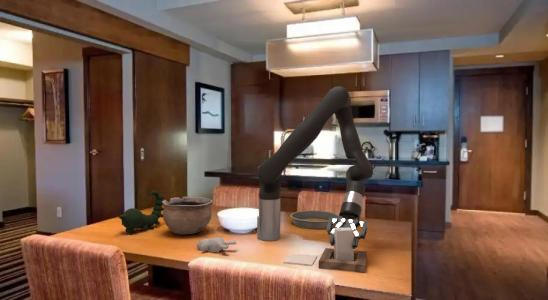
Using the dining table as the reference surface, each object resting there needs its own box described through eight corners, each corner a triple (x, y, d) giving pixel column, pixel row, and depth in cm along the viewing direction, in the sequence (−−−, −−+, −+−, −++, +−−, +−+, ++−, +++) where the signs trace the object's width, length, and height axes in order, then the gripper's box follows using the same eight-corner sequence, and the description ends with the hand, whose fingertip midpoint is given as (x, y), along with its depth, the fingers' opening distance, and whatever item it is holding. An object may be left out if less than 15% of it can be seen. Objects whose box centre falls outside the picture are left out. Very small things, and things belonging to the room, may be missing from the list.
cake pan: (287, 229, 180) (287, 219, 180) (293, 217, 204) (293, 209, 204) (339, 231, 176) (339, 221, 175) (339, 219, 200) (340, 211, 200)
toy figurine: (153, 227, 189) (109, 234, 167) (155, 189, 189) (112, 191, 168) (167, 229, 184) (124, 237, 162) (169, 190, 185) (126, 192, 163)
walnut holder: (318, 268, 126) (318, 260, 126) (325, 254, 141) (325, 247, 141) (364, 272, 122) (364, 265, 122) (366, 258, 137) (366, 251, 136)
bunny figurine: (205, 235, 153) (237, 235, 146) (207, 248, 153) (239, 248, 146) (191, 241, 144) (224, 241, 138) (192, 254, 144) (225, 255, 138)
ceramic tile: (283, 263, 131) (283, 261, 131) (290, 254, 141) (290, 253, 141) (312, 265, 129) (312, 264, 128) (317, 256, 138) (317, 255, 138)
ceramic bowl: (187, 224, 187) (187, 194, 186) (222, 230, 176) (222, 198, 175) (152, 235, 168) (151, 201, 167) (188, 242, 157) (188, 206, 156)
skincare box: (350, 260, 134) (350, 226, 134) (354, 264, 130) (354, 229, 129) (333, 261, 133) (333, 227, 133) (336, 265, 129) (336, 230, 128)
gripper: (330, 199, 140) (320, 238, 131) (369, 202, 134) (361, 243, 124) (335, 210, 145) (325, 249, 135) (372, 214, 139) (365, 254, 129)
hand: (342, 246), depth 130 cm, fingers closed on skincare box, 7 cm apart
